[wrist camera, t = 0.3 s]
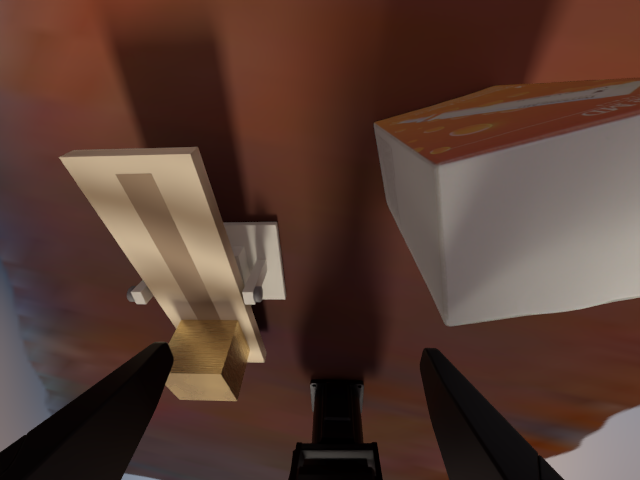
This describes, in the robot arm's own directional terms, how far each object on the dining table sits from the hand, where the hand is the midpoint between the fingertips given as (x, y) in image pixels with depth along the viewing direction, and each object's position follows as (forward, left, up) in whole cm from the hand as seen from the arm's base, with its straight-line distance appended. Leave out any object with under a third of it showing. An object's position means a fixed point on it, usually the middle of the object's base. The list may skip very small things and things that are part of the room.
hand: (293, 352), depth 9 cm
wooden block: (-11, +9, -10) cm, 18 cm away
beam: (-5, +9, -9) cm, 14 cm away
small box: (+4, -9, -14) cm, 17 cm away
